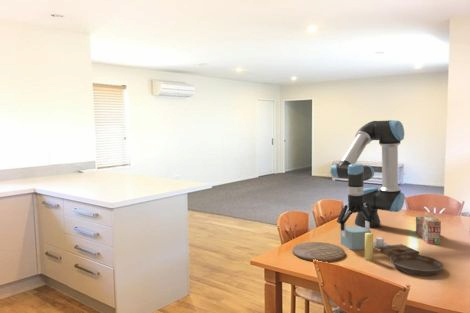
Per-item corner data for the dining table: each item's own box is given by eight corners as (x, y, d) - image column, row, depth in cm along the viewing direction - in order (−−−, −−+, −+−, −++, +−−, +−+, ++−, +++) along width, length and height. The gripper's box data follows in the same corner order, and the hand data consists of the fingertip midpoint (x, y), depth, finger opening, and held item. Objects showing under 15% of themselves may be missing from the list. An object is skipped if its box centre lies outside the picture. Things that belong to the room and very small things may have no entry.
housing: (340, 243, 195) (340, 227, 194) (358, 242, 198) (358, 225, 197) (351, 250, 185) (352, 232, 184) (370, 248, 187) (370, 231, 187)
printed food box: (415, 232, 215) (416, 211, 214) (427, 232, 213) (427, 211, 212) (427, 243, 194) (428, 220, 193) (440, 244, 192) (441, 220, 192)
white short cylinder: (369, 243, 194) (369, 235, 194) (382, 242, 196) (382, 234, 196) (378, 248, 187) (378, 240, 186) (392, 246, 189) (392, 238, 188)
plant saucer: (426, 259, 171) (426, 252, 171) (454, 277, 151) (454, 269, 150) (382, 260, 170) (382, 253, 170) (404, 278, 150) (404, 270, 150)
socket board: (380, 251, 182) (380, 246, 182) (401, 248, 185) (401, 244, 185) (396, 259, 171) (396, 254, 171) (418, 256, 174) (418, 251, 174)
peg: (363, 258, 173) (363, 233, 172) (369, 257, 174) (370, 232, 173) (367, 261, 170) (367, 235, 169) (374, 260, 170) (374, 234, 170)
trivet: (283, 249, 188) (283, 246, 188) (323, 243, 198) (323, 239, 198) (311, 266, 165) (311, 262, 165) (356, 257, 175) (356, 253, 175)
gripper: (337, 197, 183) (337, 239, 185) (381, 193, 189) (381, 234, 191) (329, 194, 190) (330, 235, 192) (372, 191, 196) (372, 230, 198)
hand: (355, 235), depth 191 cm, fingers open, 13 cm apart
